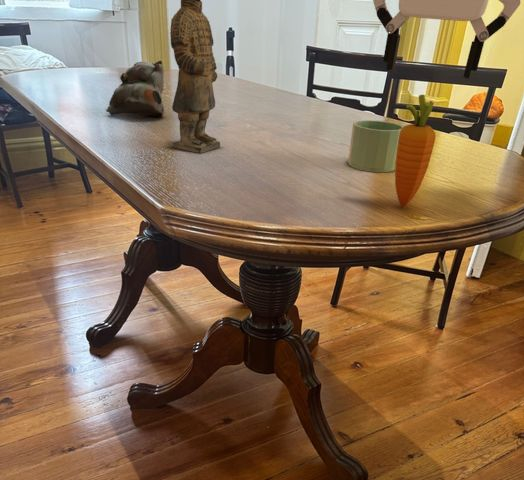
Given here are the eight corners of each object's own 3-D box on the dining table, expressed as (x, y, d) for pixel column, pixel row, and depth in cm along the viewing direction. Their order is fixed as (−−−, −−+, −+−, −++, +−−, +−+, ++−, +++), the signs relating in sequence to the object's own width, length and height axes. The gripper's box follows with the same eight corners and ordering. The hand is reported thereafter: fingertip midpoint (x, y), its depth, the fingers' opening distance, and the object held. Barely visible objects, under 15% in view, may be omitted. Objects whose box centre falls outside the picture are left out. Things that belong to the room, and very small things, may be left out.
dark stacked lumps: (97, 113, 123) (104, 53, 122) (141, 130, 132) (148, 74, 131) (128, 102, 113) (136, 37, 112) (174, 122, 121) (182, 61, 120)
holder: (399, 163, 98) (407, 123, 94) (393, 174, 91) (401, 132, 87) (353, 157, 100) (358, 118, 96) (343, 168, 93) (349, 126, 89)
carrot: (414, 215, 73) (439, 100, 65) (381, 208, 75) (401, 95, 67) (423, 206, 77) (448, 96, 69) (391, 199, 79) (412, 91, 71)
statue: (196, 155, 95) (191, -48, 79) (164, 148, 99) (153, -49, 82) (228, 145, 103) (229, -42, 86) (197, 139, 106) (193, -43, 89)
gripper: (382, -110, 56) (356, 68, 65) (553, -106, 52) (499, 83, 61) (391, -97, 62) (366, 64, 71) (545, -94, 58) (496, 77, 67)
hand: (427, 73), depth 66 cm, fingers open, 9 cm apart
